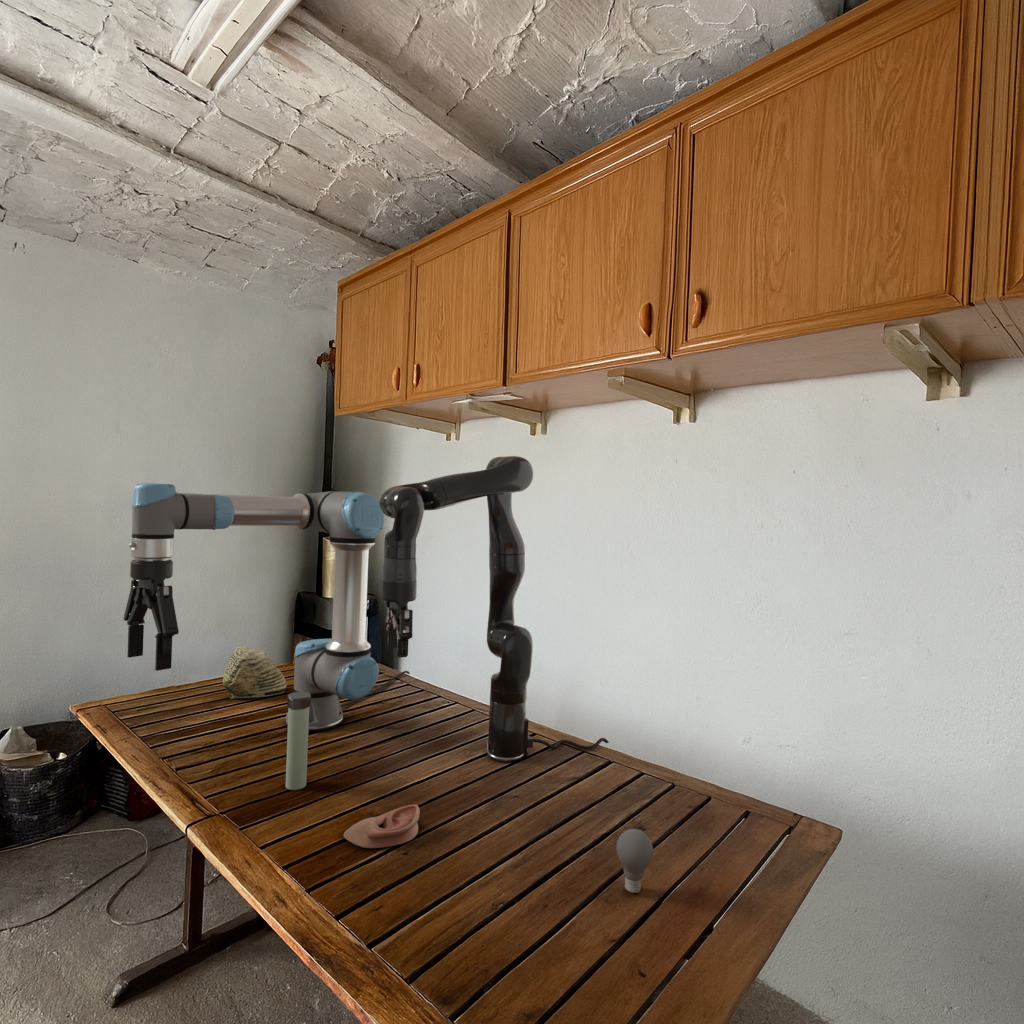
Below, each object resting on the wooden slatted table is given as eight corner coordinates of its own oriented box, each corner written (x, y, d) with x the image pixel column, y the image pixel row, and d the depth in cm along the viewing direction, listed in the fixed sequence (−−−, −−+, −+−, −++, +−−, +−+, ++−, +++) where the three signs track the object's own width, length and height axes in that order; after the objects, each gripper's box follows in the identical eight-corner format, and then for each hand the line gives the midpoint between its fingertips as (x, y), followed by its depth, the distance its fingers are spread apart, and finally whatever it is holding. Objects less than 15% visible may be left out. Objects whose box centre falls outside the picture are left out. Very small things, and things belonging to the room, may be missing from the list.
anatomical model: (336, 822, 116) (363, 794, 127) (335, 843, 116) (362, 813, 127) (404, 832, 113) (426, 803, 124) (403, 854, 113) (425, 823, 124)
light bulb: (610, 879, 108) (613, 822, 108) (644, 879, 109) (647, 822, 109) (619, 902, 102) (622, 840, 102) (655, 901, 103) (658, 840, 103)
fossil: (218, 695, 195) (220, 647, 195) (278, 685, 208) (279, 640, 207) (228, 703, 189) (230, 653, 188) (289, 692, 201) (290, 645, 201)
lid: (292, 701, 141) (292, 691, 141) (313, 702, 141) (314, 692, 140) (283, 708, 136) (284, 697, 136) (306, 709, 136) (306, 698, 136)
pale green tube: (289, 780, 141) (293, 693, 140) (309, 781, 141) (312, 694, 140) (282, 789, 136) (285, 699, 136) (302, 790, 136) (305, 700, 136)
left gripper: (108, 554, 134) (104, 654, 134) (159, 565, 118) (155, 678, 119) (146, 552, 140) (143, 648, 140) (199, 563, 124) (195, 671, 124)
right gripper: (425, 582, 133) (423, 659, 133) (407, 573, 146) (405, 643, 146) (390, 583, 130) (388, 661, 130) (375, 574, 143) (373, 645, 143)
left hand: (148, 662), depth 129 cm, fingers open, 13 cm apart
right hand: (397, 652), depth 138 cm, fingers open, 8 cm apart
